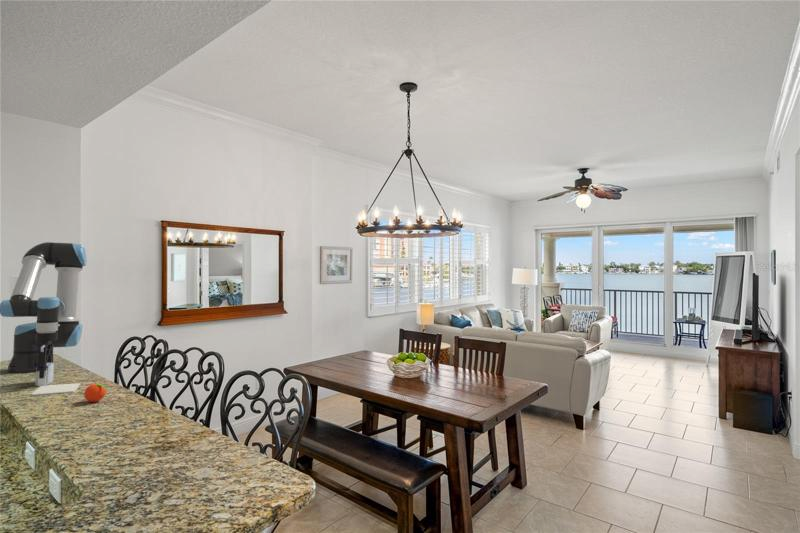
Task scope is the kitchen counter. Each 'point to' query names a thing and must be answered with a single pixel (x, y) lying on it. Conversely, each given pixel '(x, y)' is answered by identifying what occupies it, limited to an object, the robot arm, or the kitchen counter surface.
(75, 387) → the mat
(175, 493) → the kitchen counter surface
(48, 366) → the medicine box
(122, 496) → the kitchen counter surface
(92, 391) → the clementine
